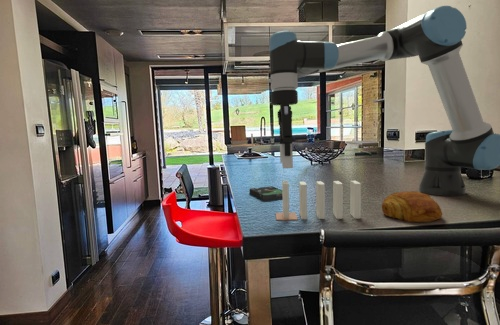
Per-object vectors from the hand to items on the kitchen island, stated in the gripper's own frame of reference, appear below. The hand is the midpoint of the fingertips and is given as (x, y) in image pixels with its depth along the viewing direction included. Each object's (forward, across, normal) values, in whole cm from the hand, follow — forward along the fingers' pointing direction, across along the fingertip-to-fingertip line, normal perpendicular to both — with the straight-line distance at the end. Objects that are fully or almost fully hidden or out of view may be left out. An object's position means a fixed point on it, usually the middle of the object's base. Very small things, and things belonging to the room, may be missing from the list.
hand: (286, 165), depth 90 cm
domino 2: (+15, 0, +5) cm, 16 cm away
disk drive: (+16, -29, -6) cm, 34 cm away
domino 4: (+16, 0, +15) cm, 21 cm away
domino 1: (+15, 0, 0) cm, 15 cm away
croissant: (+16, +1, +35) cm, 39 cm away
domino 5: (+16, 0, +20) cm, 25 cm away
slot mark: (+15, 0, 0) cm, 15 cm away
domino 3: (+15, 0, +10) cm, 18 cm away
